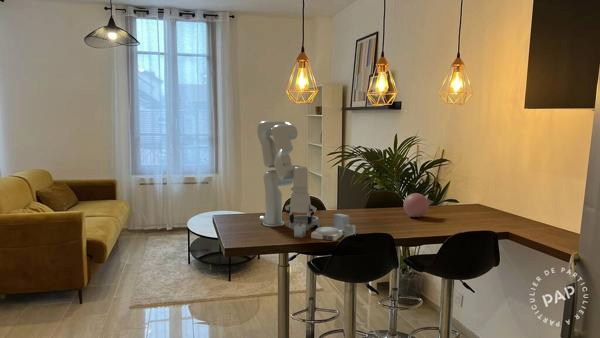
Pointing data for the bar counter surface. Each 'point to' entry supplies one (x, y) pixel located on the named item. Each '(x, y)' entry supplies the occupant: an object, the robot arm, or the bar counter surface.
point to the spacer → (349, 230)
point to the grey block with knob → (299, 230)
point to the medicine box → (341, 221)
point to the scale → (327, 233)
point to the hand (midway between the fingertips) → (300, 223)
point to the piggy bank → (416, 205)
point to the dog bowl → (305, 221)
